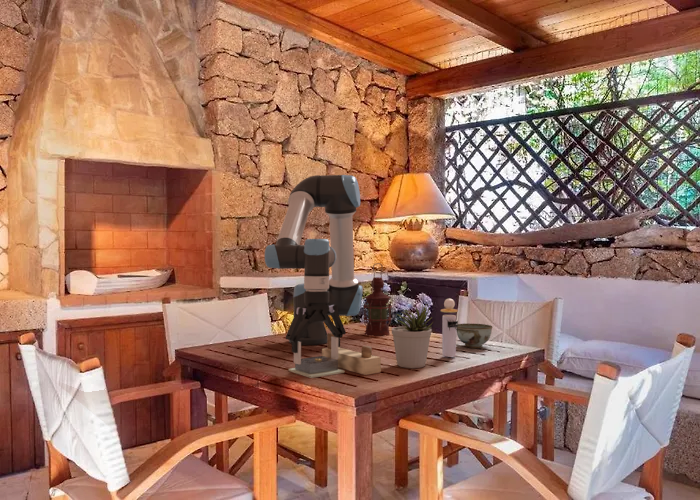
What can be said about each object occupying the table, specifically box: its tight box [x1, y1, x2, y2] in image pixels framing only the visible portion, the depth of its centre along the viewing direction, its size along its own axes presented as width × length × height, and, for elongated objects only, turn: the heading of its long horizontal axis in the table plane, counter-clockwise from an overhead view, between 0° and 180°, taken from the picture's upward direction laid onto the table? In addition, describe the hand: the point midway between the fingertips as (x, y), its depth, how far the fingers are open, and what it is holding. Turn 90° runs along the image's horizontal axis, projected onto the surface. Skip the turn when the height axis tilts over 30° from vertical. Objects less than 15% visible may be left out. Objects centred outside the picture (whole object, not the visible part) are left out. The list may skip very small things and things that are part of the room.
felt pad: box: [288, 367, 345, 379], centre depth 182 cm, size 12×12×1 cm
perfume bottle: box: [440, 297, 459, 357], centre depth 205 cm, size 6×6×20 cm
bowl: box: [456, 322, 493, 349], centre depth 227 cm, size 14×13×8 cm
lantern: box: [362, 262, 393, 337], centre depth 257 cm, size 12×12×30 cm
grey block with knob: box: [294, 355, 339, 374], centre depth 182 cm, size 8×10×3 cm
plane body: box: [321, 332, 382, 376], centre depth 188 cm, size 22×6×10 cm, turn 38°
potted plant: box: [391, 303, 434, 369], centre depth 191 cm, size 13×14×20 cm
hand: (316, 361), depth 182 cm, fingers open, 13 cm apart
